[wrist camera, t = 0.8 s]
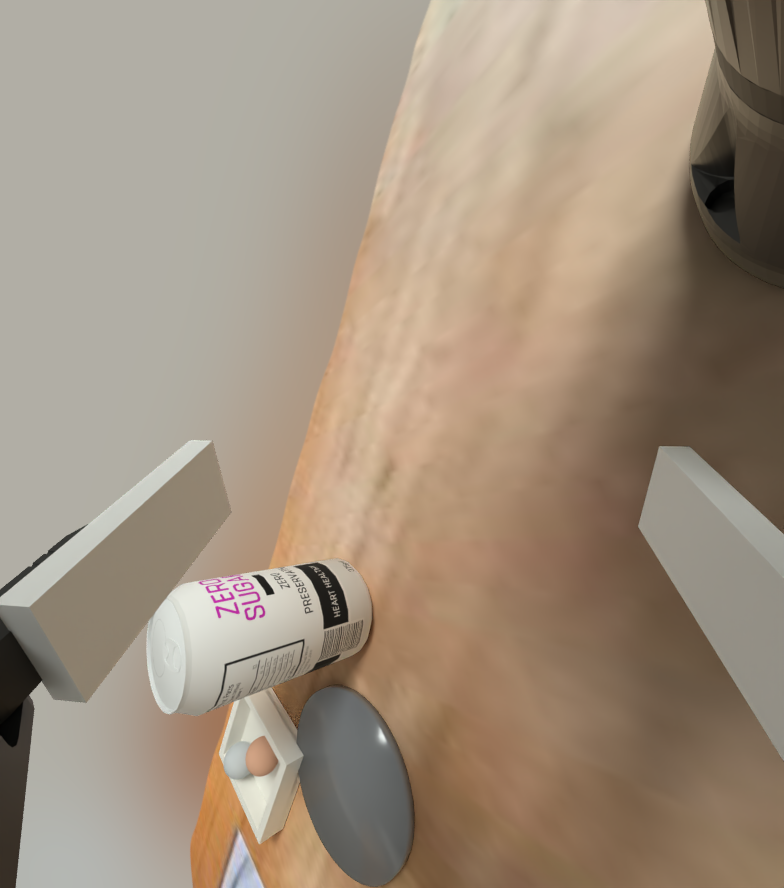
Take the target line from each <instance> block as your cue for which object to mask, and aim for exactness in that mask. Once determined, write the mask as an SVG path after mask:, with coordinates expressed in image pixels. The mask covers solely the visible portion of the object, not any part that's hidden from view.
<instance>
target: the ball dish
mask: <svg viewBox="0 0 784 888" xmlns="http://www.w3.org/2000/svg"><path fill="white" fill-rule="evenodd" d="M297 731H298V730H297V728H296V727H295V725H294V723H293V722H292V720H291V718H290V717H289V715H288V714H287V712H286V710H285V709H284V707H283V705H282V704H281V702H280V701H279V699H278V697H277V696H276V694H275V692H274V691H273V689H272V687H270V688H268V689H265V690H263V691H260V692H258V693H255V694H252V695H250V696H247V697H245V698H242V699H240V700H237V701H234V704H233V708H232V711H231V714H230V718H229V721H228V725H227V728H226V731H225V735H224V738H223V741H222V745H221V748H220V751H219V755H220V758H221V760H222V762H223V764H224V758H225V755H226V753H227V751H228V750H229V748H230V747H231V746H232V745H234V744H235V743H237V742H240V741H246V742H249V743H252V742H253V741H254V740H255V739H257V738H258V737H261V736H265V737H266V739H267V741H268V742H269V744H270V746H271V748H272V750H273V752H274V753H275V755H276V757H277V759H278V764H277V765H276V767H275V769H274V770H273V771H272V772H271V773H269V774H268V775H265V776H261V777H258V776H254V775H253V774H251V773H250V774H249V775H247V776H246V777H244V778H242V779H238V780H235V779H232V778H230V777H229V778H230V780H231V782H232V785H233V787H234V789H235V791H236V793H237V796H238V798H239V800H240V802H241V805H242V807H243V809H244V811H245V814H246V816H247V818H248V820H249V823H250V825H251V827H252V829H253V832H254V834H255V836H256V838H257V841H258V843H259V844H261V843H262V842H264V841H265V840H267V839H268V838H270V837H271V836H273V835H274V834H276V833H277V832H279V831H280V830H282V829H283V828H284V825H285V822H286V819H287V817H288V814H289V811H290V808H291V806H292V803H293V800H294V797H295V795H296V792H297V789H298V786H299V783H300V778H299V773H298V770H299V768H300V765H301V762H302V759H303V756H304V755H303V754H302V752H301V750H300V749H299V747H298V745H297Z"/></svg>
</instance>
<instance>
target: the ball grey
mask: <svg viewBox="0 0 784 888" xmlns="http://www.w3.org/2000/svg"><path fill="white" fill-rule="evenodd" d="M250 744H251V743H249V742H246V741H240V742H237V743H235V744H234V745H232V746H231V747H230V748H229V750H228V751H227V753H226V755H225V758H224V770H225V773H226V774H227V775H228V777H230V778H232V779H235V780H238V779H242V778H244V777H246V776H247V775H249V774H250V772H249V771H248V769H247V766H246V761H245V758H246V752H247V750H248V748H249V746H250Z"/></svg>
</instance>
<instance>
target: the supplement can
mask: <svg viewBox="0 0 784 888" xmlns="http://www.w3.org/2000/svg"><path fill="white" fill-rule="evenodd" d="M371 622H372V601H371V598H370V594H369V590H368V587H367V585H366V583H365V582H364V580H363V578H362V576H361V575H360V574H359V573H358V571H357V570H356V569H355V568H354V567H353V566H352V565H351V564H350V563H349V562H347V561H344V560H341V559H339V558H335V559H329V560H323V561H317V562H311V563H305V564H299V565H293V566H287V567H281V568H275V569H268V570H262V571H256V572H250V573H244V574H238V575H233V576H226V577H220V578H215V579H208V580H202V581H197V582H190V583H186V584H182V585H180V586H179V587H177V588H176V589H174V590H173V591H172V592H170V594H169V595H168V596H167V598H166V599H165V600H164V602H163V603H162V604H161V605H160V607H159V608H158V609H157V611H156V612H155V613H154V615H153V616H152V617H151V619H150V620H149V624H148V630H147V665H148V674H149V678H150V684H151V689H152V691H153V694H154V697H155V700H156V702H157V704H158V706H159V707H160V708H161V709H162V711H163V712H164V713H167V714H173V713H175V712H176V713H183V714H188V715H194V716H198V715H201V714H204V713H206V712H209V711H211V710H214V709H216V708H219V707H221V706H224V705H227V704H229V703H232V702H234V701H237V700H240V699H242V698H245V697H247V696H250V695H252V694H255V693H258V692H260V691H263V690H265V689H268V688H270V687H273V686H276V685H278V684H281V683H283V682H286V681H289V680H291V679H294V678H296V677H299V676H301V675H304V674H307V673H309V672H312V671H314V670H317V669H319V668H322V667H325V666H327V665H330V664H332V663H335V662H337V661H340V660H343V659H345V658H348V657H350V656H352V655H354V654H355V653H357V652H359V651H360V650H361V649H362V647H363V645H364V644H365V642H366V640H367V639H368V634H369V631H370V627H371Z"/></svg>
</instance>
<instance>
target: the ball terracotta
mask: <svg viewBox="0 0 784 888" xmlns="http://www.w3.org/2000/svg"><path fill="white" fill-rule="evenodd" d="M245 761H246V766H247V769H248V771H249V772H250V773H251V774H253V775H254V776H258V777H261V776H265V775H268V774H269V773H271V772H272V771H273V770H274V769H275V767H276V765H277V764H278V759H277V757H276V755H275V753H274V752H273V750H272V748H271V746H270V744H269V742H268V741H267V739H266V737H265V736H261V737H258V738H257V739H255V740H254V741H253V742H252V743H251V744H250V746H249V748H248V750H247V752H246V758H245Z"/></svg>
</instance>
